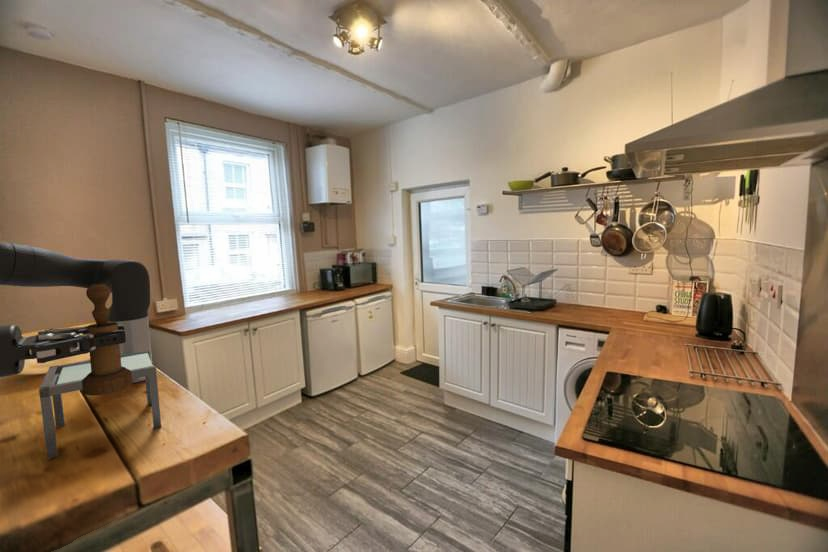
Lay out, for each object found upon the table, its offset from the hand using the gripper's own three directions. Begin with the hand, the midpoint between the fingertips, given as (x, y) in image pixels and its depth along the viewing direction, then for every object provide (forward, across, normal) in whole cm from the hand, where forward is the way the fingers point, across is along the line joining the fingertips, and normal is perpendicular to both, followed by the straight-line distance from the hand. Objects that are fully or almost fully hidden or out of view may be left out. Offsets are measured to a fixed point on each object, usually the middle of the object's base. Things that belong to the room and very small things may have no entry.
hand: (124, 333), depth 63 cm
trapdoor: (-3, -15, -10) cm, 19 cm away
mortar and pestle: (-3, 0, -9) cm, 10 cm away
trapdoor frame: (-3, -15, -22) cm, 27 cm away
